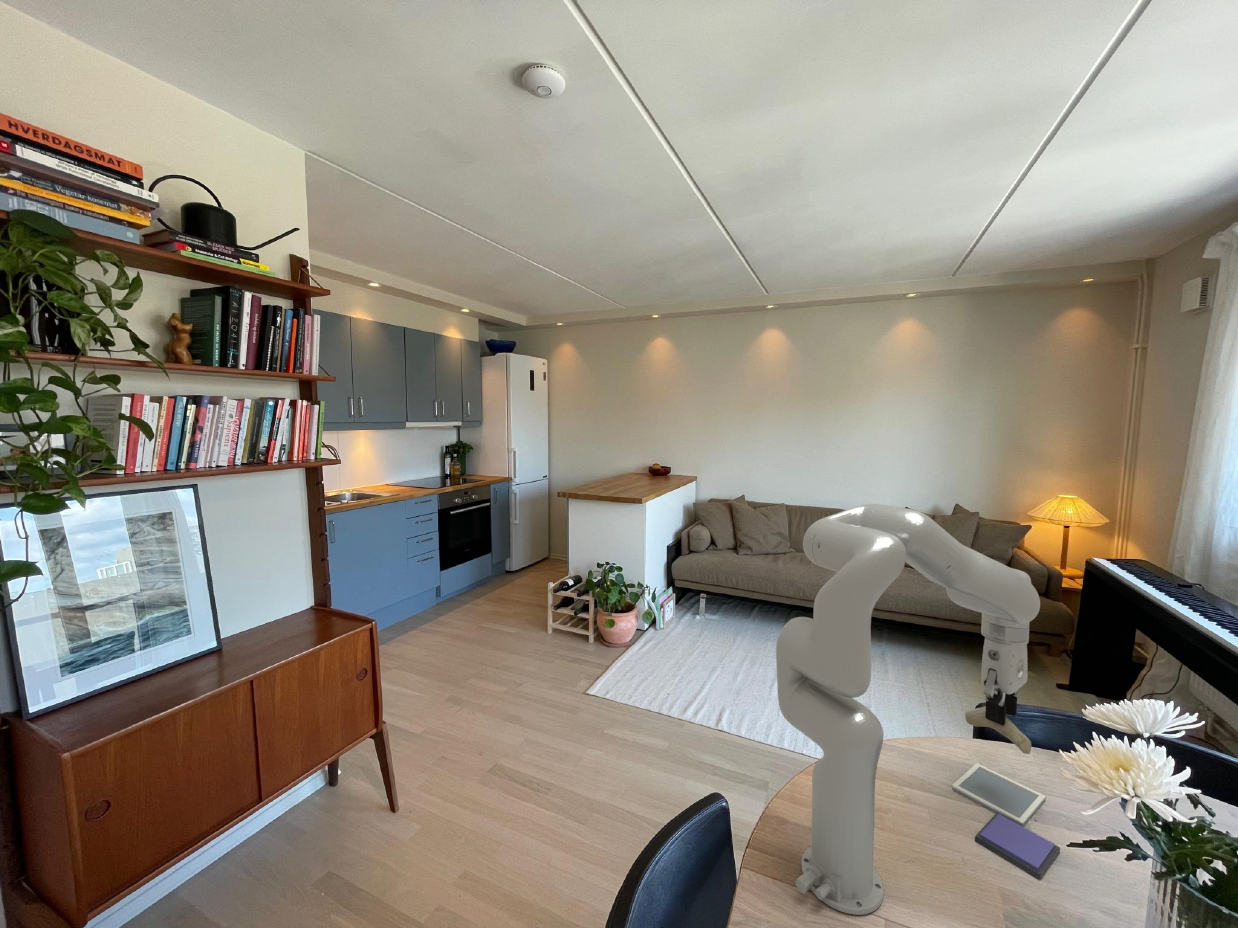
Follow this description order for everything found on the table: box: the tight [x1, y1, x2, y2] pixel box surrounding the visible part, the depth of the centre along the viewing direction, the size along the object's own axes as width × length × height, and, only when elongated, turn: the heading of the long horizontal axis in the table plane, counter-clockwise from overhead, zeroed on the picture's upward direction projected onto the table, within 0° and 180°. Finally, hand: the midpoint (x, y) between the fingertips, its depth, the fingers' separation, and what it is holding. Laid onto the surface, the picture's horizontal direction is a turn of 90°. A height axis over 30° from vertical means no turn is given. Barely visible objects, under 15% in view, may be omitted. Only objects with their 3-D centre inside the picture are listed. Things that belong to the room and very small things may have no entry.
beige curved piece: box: [964, 705, 1032, 755], centre depth 99 cm, size 11×6×5 cm, turn 22°
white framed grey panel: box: [951, 762, 1046, 828], centre depth 101 cm, size 12×12×1 cm
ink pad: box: [974, 813, 1061, 881], centre depth 89 cm, size 10×10×2 cm
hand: (1000, 716), depth 100 cm, fingers closed on beige curved piece, 4 cm apart
